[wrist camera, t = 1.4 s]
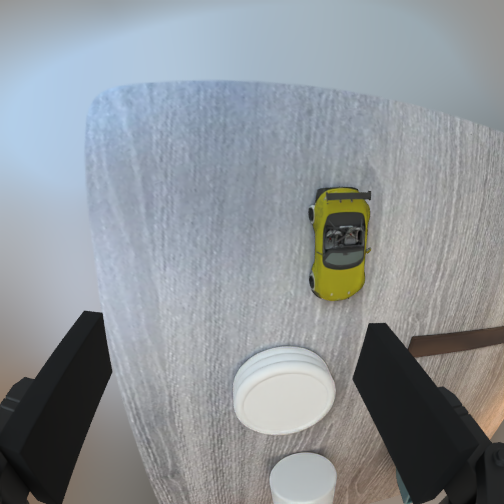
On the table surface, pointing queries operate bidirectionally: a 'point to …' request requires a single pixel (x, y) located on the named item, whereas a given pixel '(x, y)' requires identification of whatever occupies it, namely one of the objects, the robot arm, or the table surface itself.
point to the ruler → (455, 341)
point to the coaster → (283, 390)
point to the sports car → (339, 242)
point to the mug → (303, 480)
